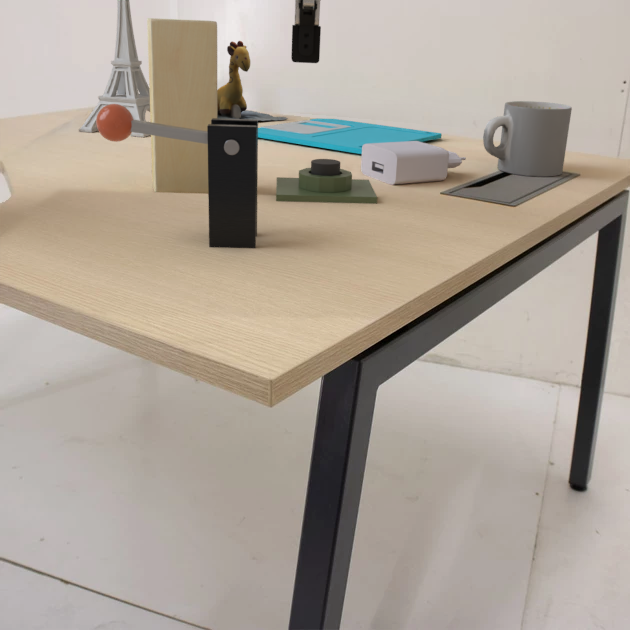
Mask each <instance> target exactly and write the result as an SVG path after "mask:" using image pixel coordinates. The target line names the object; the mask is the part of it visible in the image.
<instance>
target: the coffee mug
mask: <svg viewBox="0 0 630 630" xmlns="http://www.w3.org/2000/svg"><path fill="white" fill-rule="evenodd" d="M503 108H504V109H503V115H502V116H501V115H500V116H495V117H493V118H491V119H490V120H488V122H487V123H486V124H485V127H484V129H483V137H482V139H483V140H482V141H483V142H482V143H483V147H484V150H485V151H486V152H487V153H488V154H489V155H491V156H492V157H494V158H496V159H497V170H499V171H501V172H503V173H507V174H511V175H517V176H524V177H541V178H542V177H543V178H545V177H547V178H548V177H556V176H560V175H562V174H563V170H564V164H565V157H566V151H567V150H566V149H567V144H568V137H569V130H570V123H571V116H572V110H573V109H572V106H570V105H569V104H568V105H567V104H563V103H556V102H545V101H533V100H532V101H531V100H512V101H507V102H505V103H504V107H503ZM500 127H501V133H500V134H501V135H500V143H499V145H498V146H495V143H494V136H495V133H496V131H497V130H498V128H500Z"/></svg>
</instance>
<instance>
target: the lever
mask: <svg viewBox="0 0 630 630" xmlns="http://www.w3.org/2000/svg"><path fill="white" fill-rule="evenodd" d="M96 126H97V129H98V131H97V132H99V134H100V135H101V136H102V138H104V139H105V140H107V141H109V142H116V143H118V142H123V141H125V140H126V139H128V138H129V137H131V136H130V135H131V133H132V132H135V133H141V134H147V135H150V136H151V135H154V136H160V137H166V138H172V139H178V140H185V141H191V142H197V143H203V144H208V133H207V131H202V130H195V129H189V128H183V127H177V126H171V125H165V124H158V123H152V122H150V121H147V120H146V121H140V120H134V119H133V116H132V114H131V113H130V111H129V110H128V109H127V108H125V107H124V106H122V105H119V104H109V105H106V106H105V107H103V108H102V109H101V110H100V111H99V113H98V115H97V118H96Z"/></svg>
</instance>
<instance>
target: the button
mask: <svg viewBox="0 0 630 630" xmlns="http://www.w3.org/2000/svg"><path fill="white" fill-rule="evenodd" d="M310 168H311V174H313V175H320V176H336V175H340V169H341V161H340V160H337V159H332V158H329V159H328V158H316V159H312V160H311V161H310Z"/></svg>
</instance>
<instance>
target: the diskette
mask: <svg viewBox="0 0 630 630" xmlns="http://www.w3.org/2000/svg"><path fill="white" fill-rule="evenodd" d="M258 139H264V140H270V141H271V140H273V141H277V142H285V143H290V144H296V145H297V144H298V145H303V146H309V147H315V148H322V149H327V150H333V151H339V152H340V151H341V152H346V153H352V154H358V155H362V146H363V145H364V144H368V143H386V142H405V141H419V142H423V143H424V142H428V141H431V140H440V139H442V133H441V132H434V131H428V130H420V129H413V128H412V129H411V128H405V127H398V126H390V125H383V124H376V123H369V122H360V121H353V120H345V119H339V118H312V119H303V120H297V121H289V122H283V123H277V124H270V125H262V126H260V127H258Z"/></svg>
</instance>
